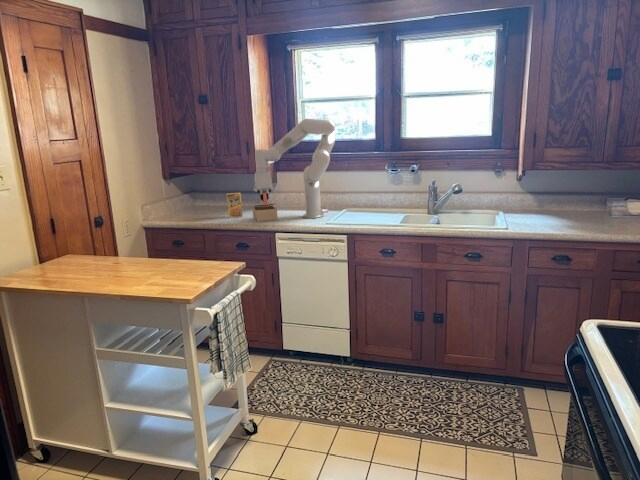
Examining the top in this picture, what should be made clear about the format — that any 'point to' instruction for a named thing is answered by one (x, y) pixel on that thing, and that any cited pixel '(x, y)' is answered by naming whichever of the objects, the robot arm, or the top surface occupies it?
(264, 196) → the taped cardboard box
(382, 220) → the top surface
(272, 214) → the carton
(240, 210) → the candy box
